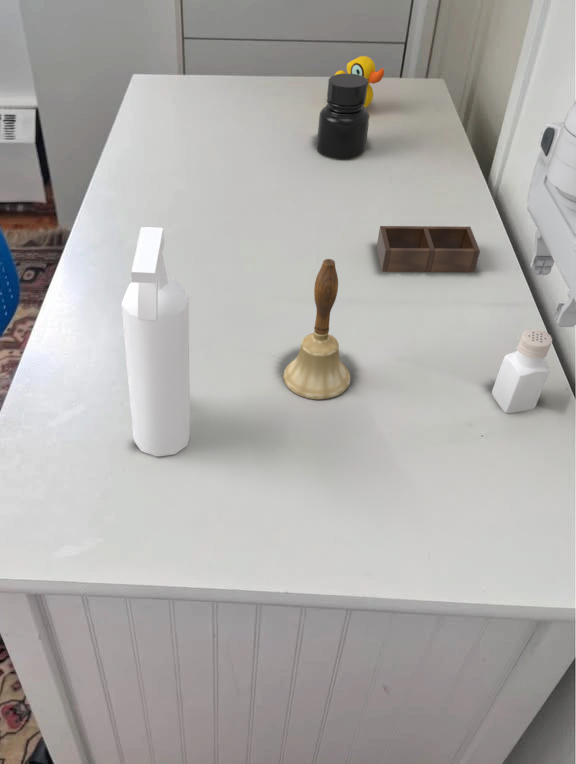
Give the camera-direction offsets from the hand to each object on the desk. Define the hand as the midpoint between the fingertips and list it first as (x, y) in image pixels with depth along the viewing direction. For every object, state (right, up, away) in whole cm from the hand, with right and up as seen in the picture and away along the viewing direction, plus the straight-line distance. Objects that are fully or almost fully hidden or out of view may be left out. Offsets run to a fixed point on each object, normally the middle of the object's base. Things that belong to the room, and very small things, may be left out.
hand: (550, 296), depth 75 cm
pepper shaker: (0, -10, +11) cm, 15 cm away
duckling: (-7, +56, +71) cm, 91 cm away
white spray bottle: (-41, -14, +8) cm, 44 cm away
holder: (-4, +12, +31) cm, 34 cm away
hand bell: (-22, -7, +15) cm, 28 cm away
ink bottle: (-12, +42, +59) cm, 73 cm away
